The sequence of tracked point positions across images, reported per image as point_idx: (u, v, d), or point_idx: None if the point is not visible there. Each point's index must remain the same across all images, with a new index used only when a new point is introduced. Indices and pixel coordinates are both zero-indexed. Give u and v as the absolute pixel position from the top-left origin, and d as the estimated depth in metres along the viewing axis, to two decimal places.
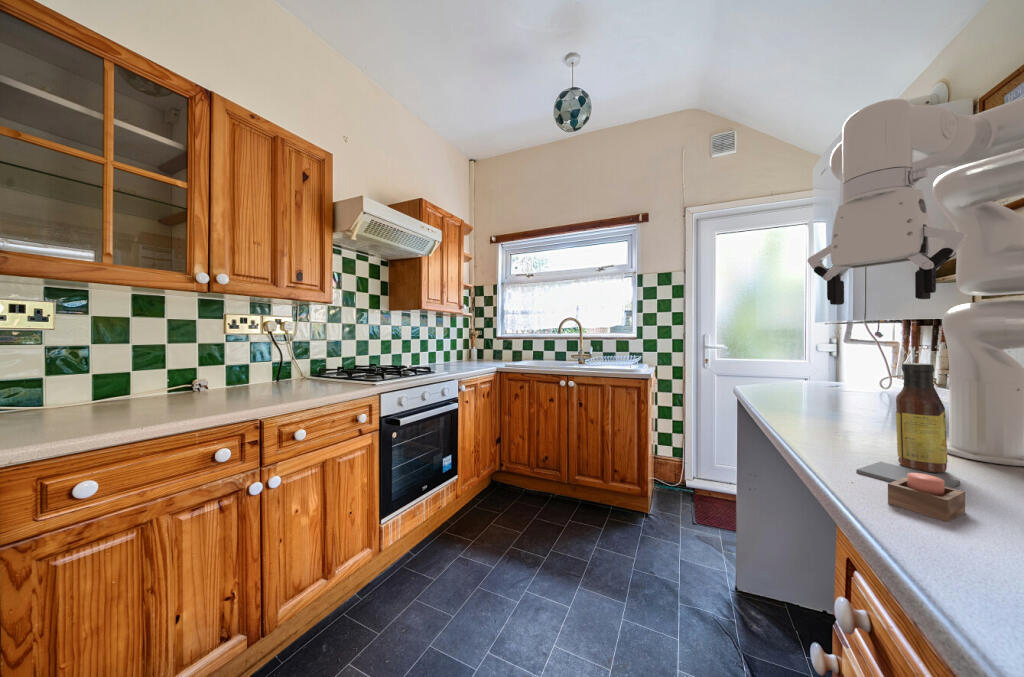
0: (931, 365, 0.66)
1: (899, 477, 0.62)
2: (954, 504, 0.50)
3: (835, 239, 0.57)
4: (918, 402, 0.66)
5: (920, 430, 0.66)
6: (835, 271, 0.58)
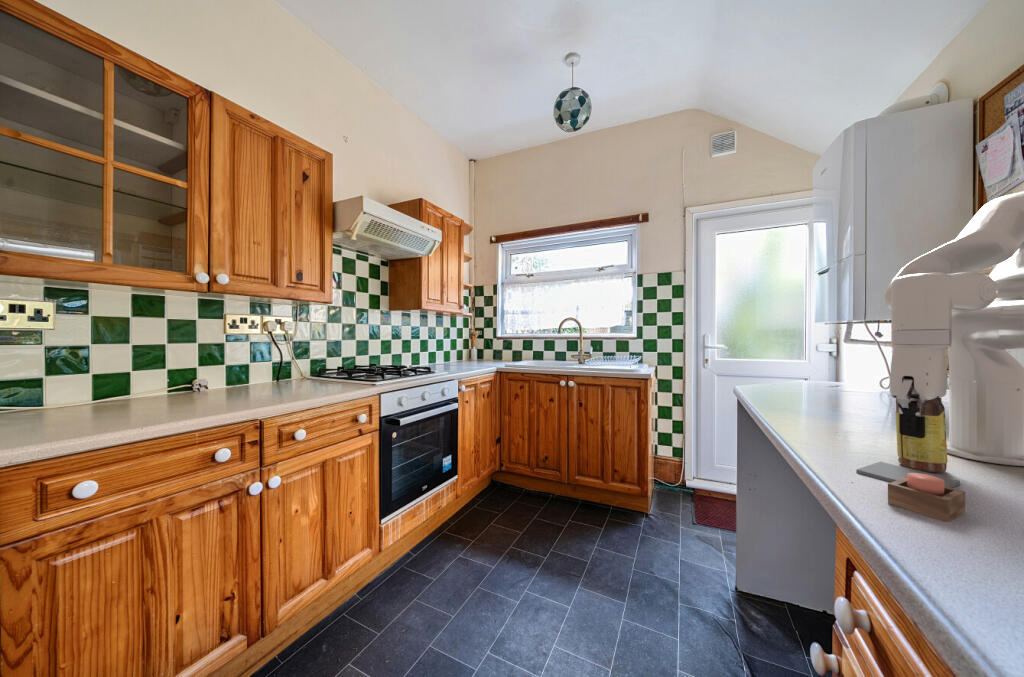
0: None
1: (899, 477, 0.62)
2: (954, 504, 0.50)
3: (927, 377, 0.64)
4: None
5: None
6: (923, 407, 0.65)
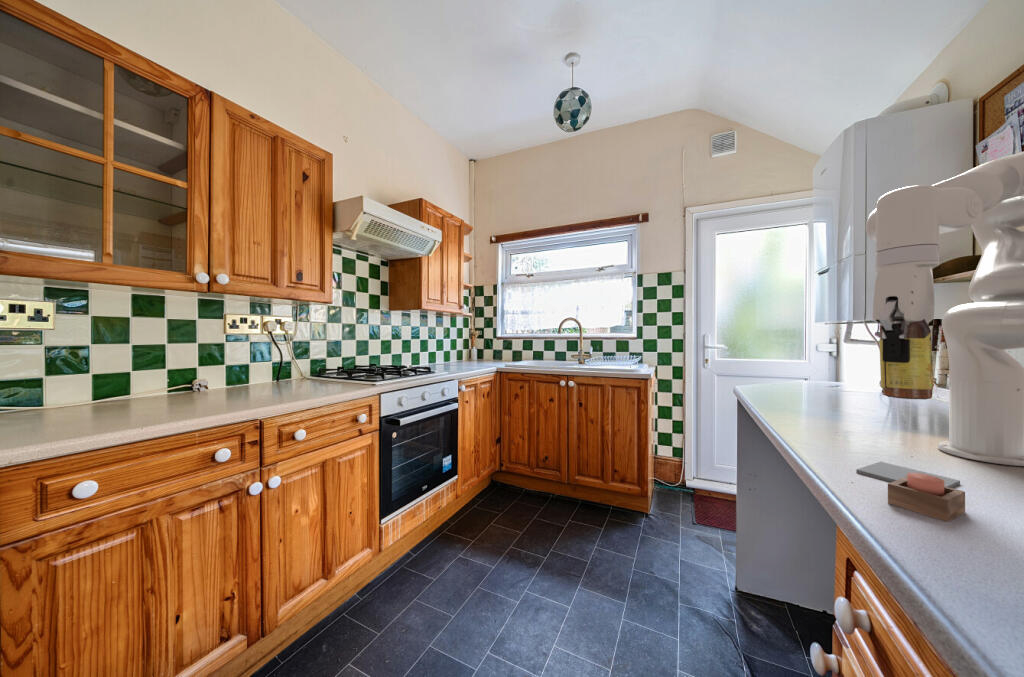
0: None
1: (899, 477, 0.62)
2: (954, 504, 0.50)
3: (912, 295, 0.59)
4: None
5: None
6: (907, 329, 0.60)
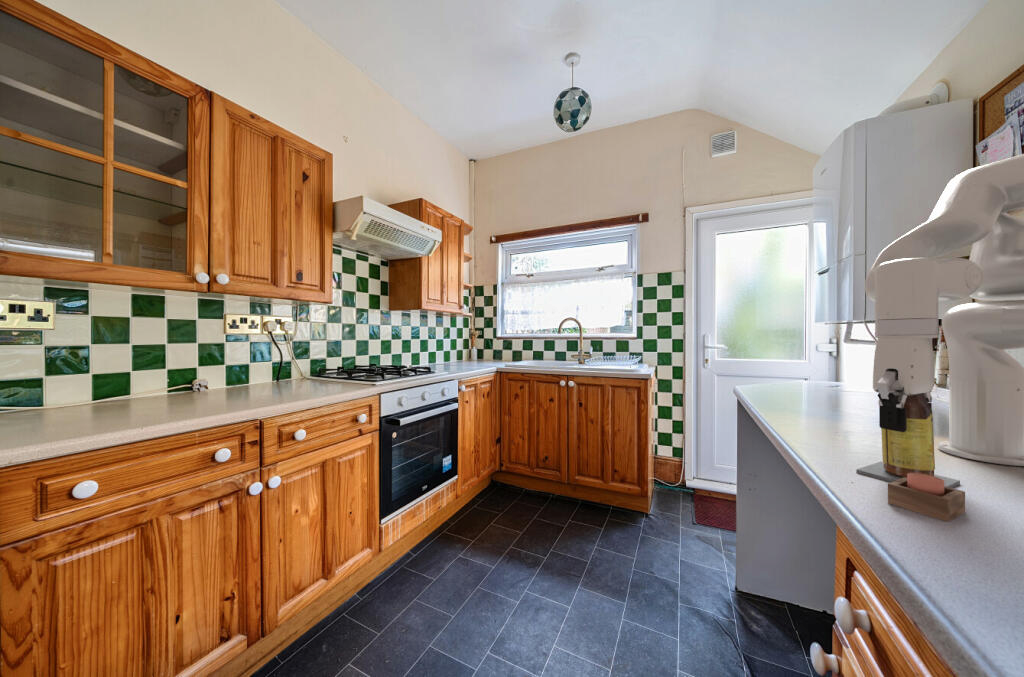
0: None
1: (899, 477, 0.62)
2: (954, 504, 0.50)
3: (912, 370, 0.59)
4: None
5: (906, 434, 0.61)
6: (905, 400, 0.60)
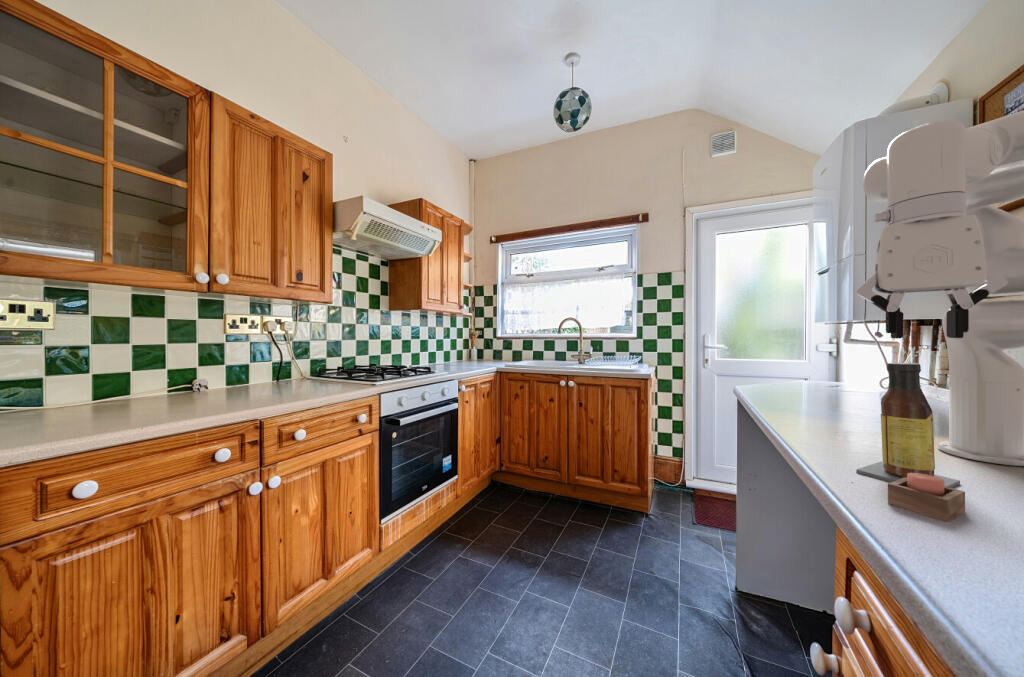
0: (918, 365, 0.62)
1: (899, 477, 0.62)
2: (954, 504, 0.50)
3: None
4: (903, 405, 0.61)
5: (906, 434, 0.61)
6: None
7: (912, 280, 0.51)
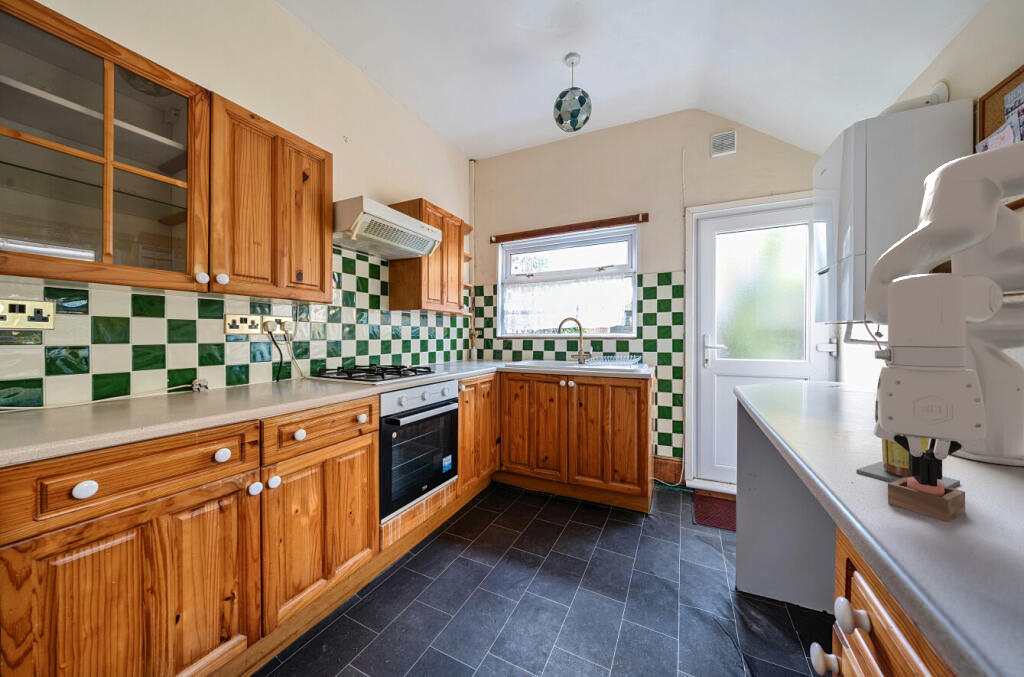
0: None
1: (899, 477, 0.62)
2: (954, 504, 0.50)
3: None
4: None
5: None
6: None
7: (912, 427, 0.51)
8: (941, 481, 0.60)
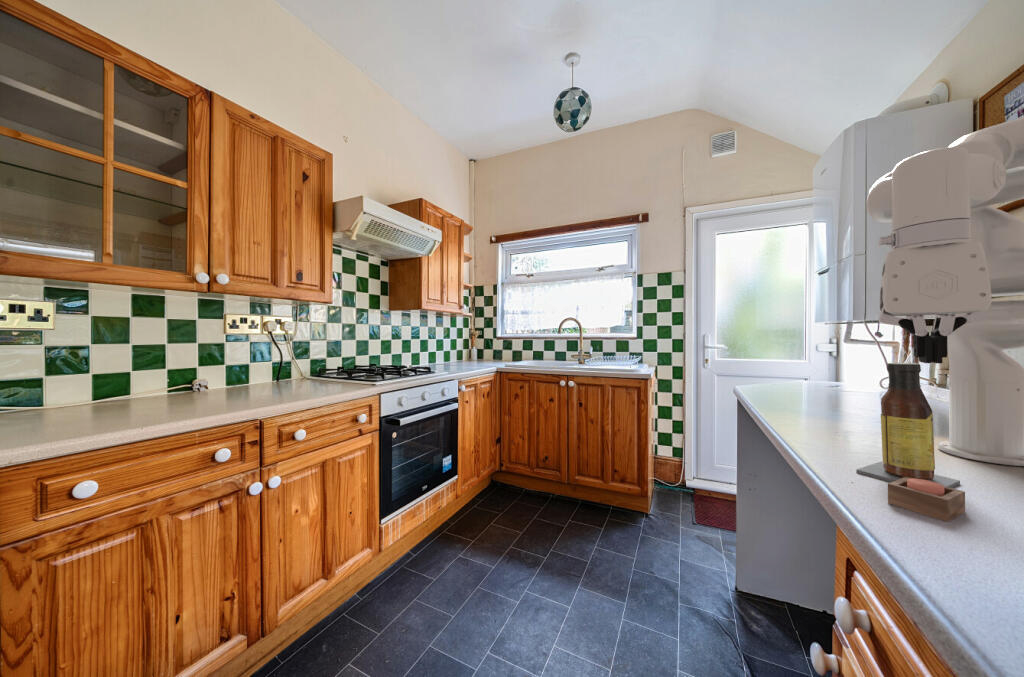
0: (918, 365, 0.62)
1: (899, 477, 0.62)
2: (954, 504, 0.50)
3: None
4: (903, 405, 0.61)
5: (906, 434, 0.61)
6: None
7: (917, 305, 0.52)
8: (941, 481, 0.60)
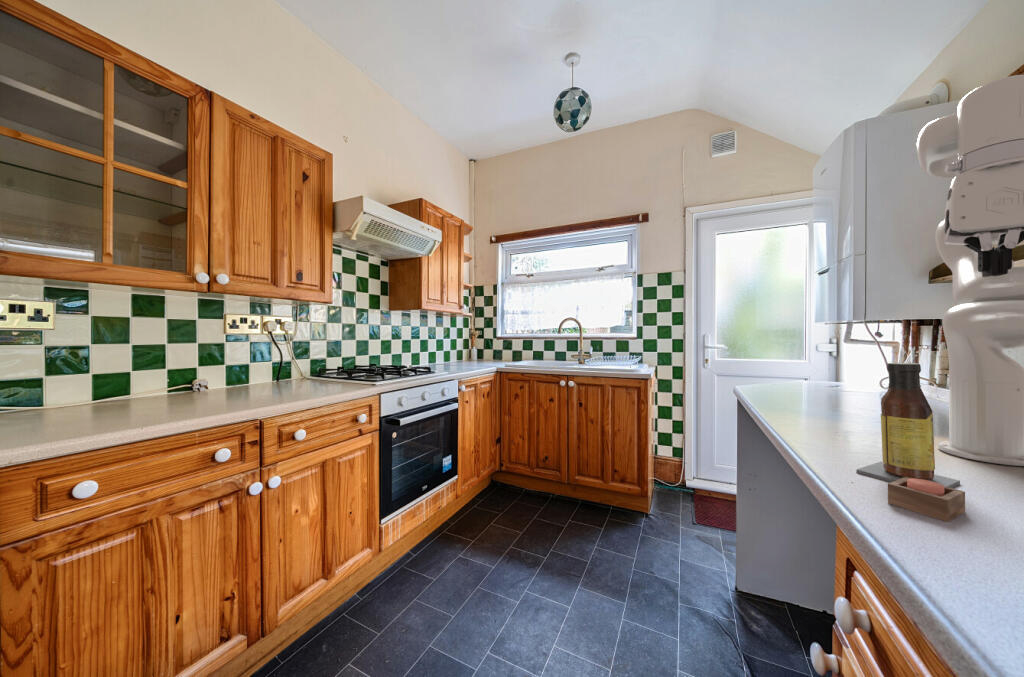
0: (918, 365, 0.62)
1: (899, 477, 0.62)
2: (954, 504, 0.50)
3: None
4: (904, 405, 0.61)
5: (906, 434, 0.61)
6: None
7: (985, 221, 0.57)
8: (941, 481, 0.60)
